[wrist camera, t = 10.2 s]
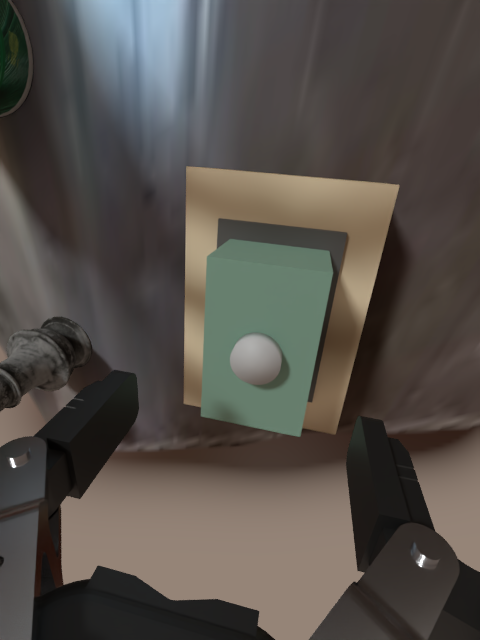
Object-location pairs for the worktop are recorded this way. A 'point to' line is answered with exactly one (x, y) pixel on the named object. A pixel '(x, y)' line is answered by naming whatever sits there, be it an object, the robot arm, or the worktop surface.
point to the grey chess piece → (42, 359)
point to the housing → (262, 332)
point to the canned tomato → (13, 59)
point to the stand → (298, 231)
